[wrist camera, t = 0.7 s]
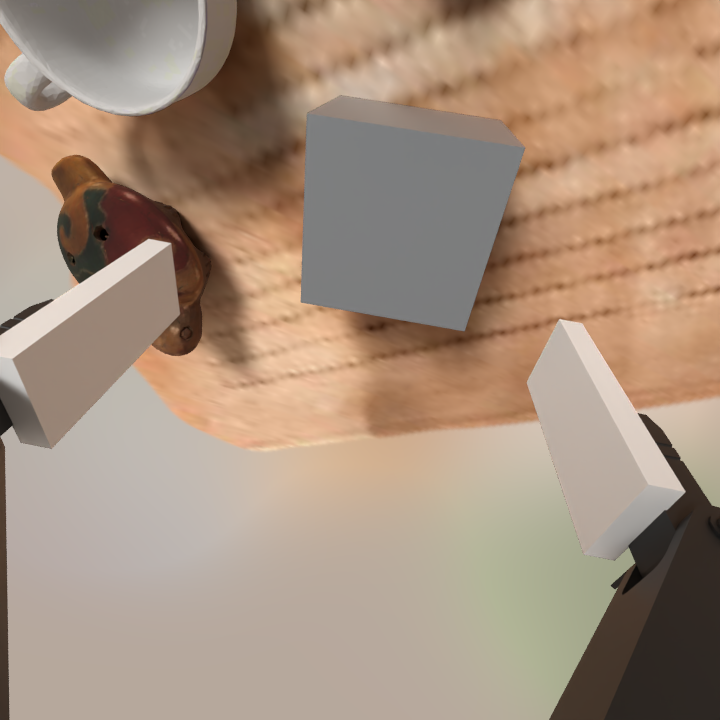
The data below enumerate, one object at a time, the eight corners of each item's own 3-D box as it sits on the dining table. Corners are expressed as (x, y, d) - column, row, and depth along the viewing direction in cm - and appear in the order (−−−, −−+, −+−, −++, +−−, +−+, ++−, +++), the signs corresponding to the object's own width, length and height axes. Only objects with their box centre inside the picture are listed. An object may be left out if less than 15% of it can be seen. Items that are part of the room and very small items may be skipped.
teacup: (180, -207, 20) (62, -325, 13) (293, 50, 25) (246, 52, 19) (7, -34, 25) (-139, -61, 18) (132, 150, 30) (53, 177, 24)
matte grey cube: (500, 120, 26) (525, 147, 19) (457, 269, 32) (464, 331, 25) (340, 95, 26) (306, 113, 19) (329, 247, 32) (300, 302, 26)
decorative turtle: (197, 333, 40) (144, 384, 33) (68, 191, 34) (-25, 221, 28) (267, 290, 35) (222, 340, 29) (133, 117, 29) (38, 132, 23)
